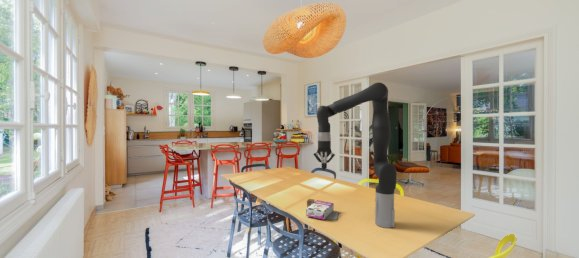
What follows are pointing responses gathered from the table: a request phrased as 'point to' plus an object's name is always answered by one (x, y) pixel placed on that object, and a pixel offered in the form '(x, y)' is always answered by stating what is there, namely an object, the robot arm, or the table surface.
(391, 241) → the table surface
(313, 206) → the candy bar box
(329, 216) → the rubber mat
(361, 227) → the table surface
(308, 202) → the walnut block
